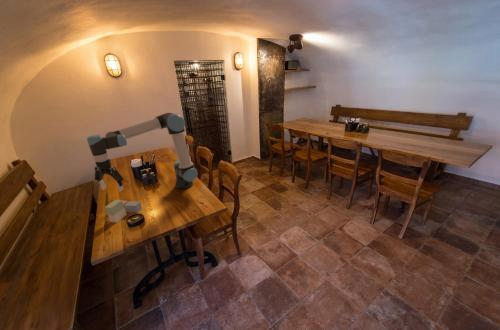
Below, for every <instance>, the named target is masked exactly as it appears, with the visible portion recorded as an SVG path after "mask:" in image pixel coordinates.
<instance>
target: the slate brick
mask: <svg viewBox="0 0 500 330" xmlns="http://www.w3.org/2000/svg"><path fill="white" fill-rule="evenodd" d="M124 206H125V209H126V213H136V214H138V213H139V212H140V211H141V210H142V209H143V207H142V204H141V201H129V200H128V203H126V204H125V205H124Z"/></svg>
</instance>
